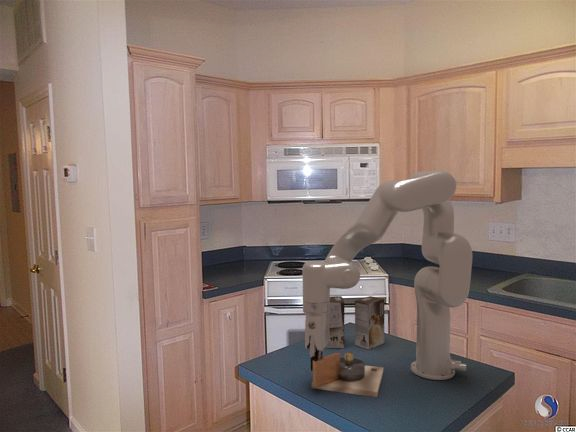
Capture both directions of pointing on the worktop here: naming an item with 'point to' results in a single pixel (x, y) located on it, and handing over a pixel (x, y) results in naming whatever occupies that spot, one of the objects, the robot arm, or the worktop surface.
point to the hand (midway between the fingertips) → (316, 370)
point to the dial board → (358, 383)
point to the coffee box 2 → (369, 322)
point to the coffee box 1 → (336, 322)
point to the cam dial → (337, 369)
